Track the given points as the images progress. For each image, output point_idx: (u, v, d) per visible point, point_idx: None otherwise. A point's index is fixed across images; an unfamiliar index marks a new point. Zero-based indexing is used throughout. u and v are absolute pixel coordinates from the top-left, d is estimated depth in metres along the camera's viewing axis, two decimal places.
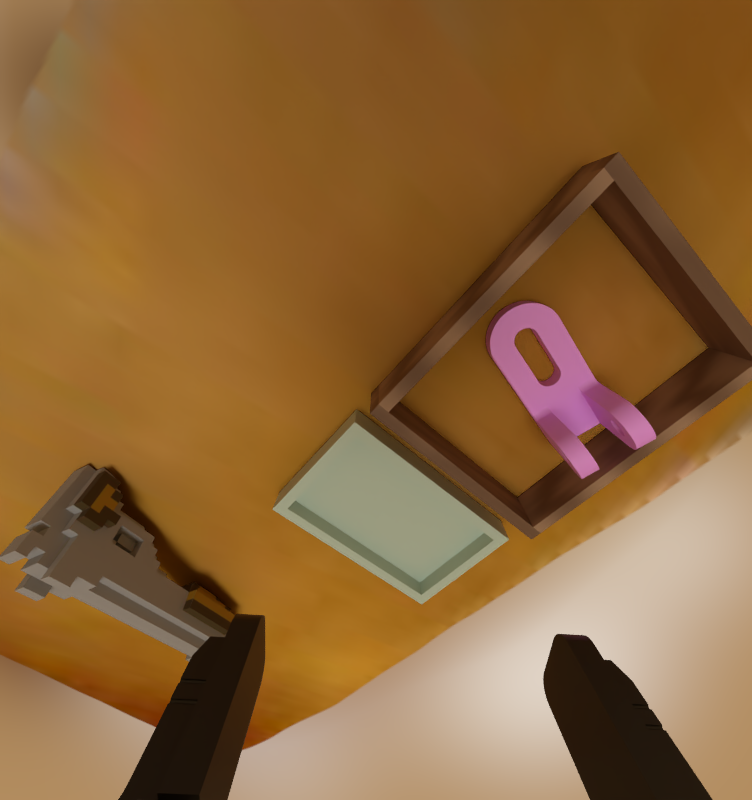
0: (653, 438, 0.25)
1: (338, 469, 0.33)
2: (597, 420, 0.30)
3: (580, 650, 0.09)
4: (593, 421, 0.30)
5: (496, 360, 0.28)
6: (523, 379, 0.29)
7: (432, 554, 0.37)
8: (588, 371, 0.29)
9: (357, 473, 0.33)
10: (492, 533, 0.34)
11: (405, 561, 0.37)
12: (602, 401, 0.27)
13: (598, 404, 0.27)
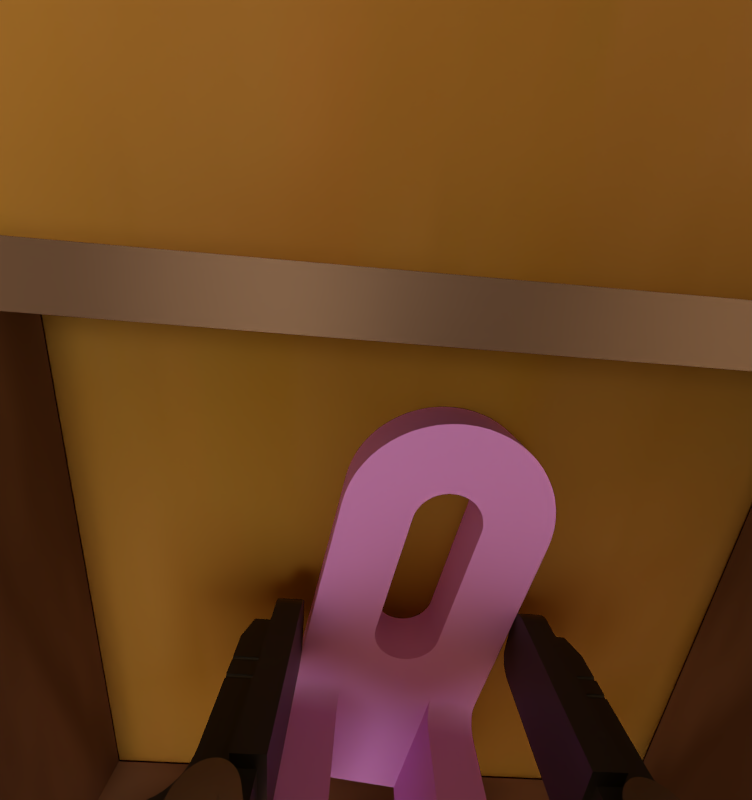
0: None
1: None
2: (394, 780, 0.12)
3: (533, 627, 0.09)
4: (386, 776, 0.12)
5: (346, 503, 0.09)
6: (354, 594, 0.10)
7: None
8: (476, 691, 0.11)
9: None
10: None
11: None
12: None
13: None
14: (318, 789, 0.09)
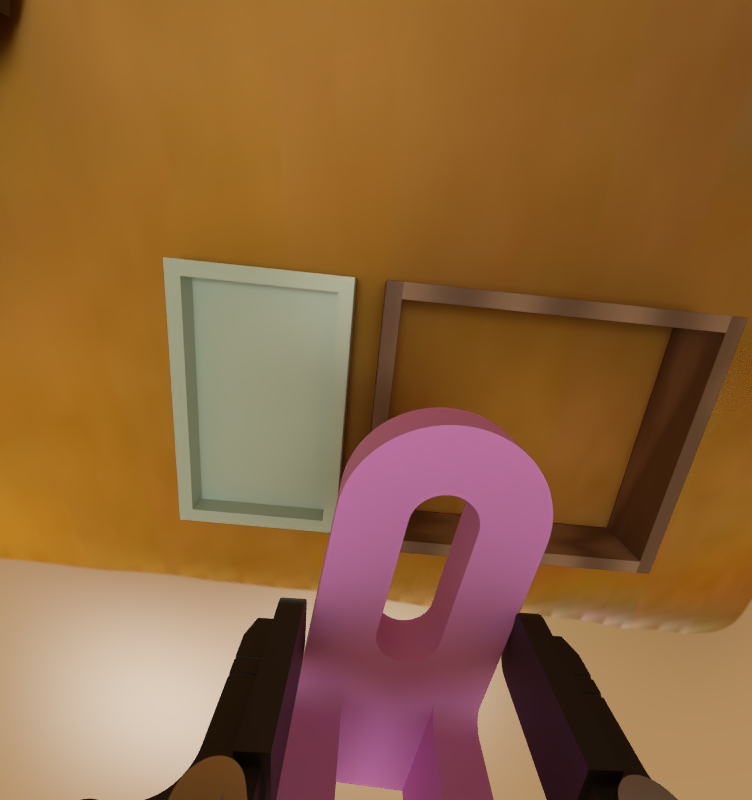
0: None
1: (274, 306, 0.24)
2: (403, 784, 0.12)
3: (531, 626, 0.09)
4: (394, 779, 0.12)
5: (341, 508, 0.09)
6: (354, 599, 0.10)
7: (247, 482, 0.28)
8: (480, 692, 0.11)
9: (285, 331, 0.25)
10: (329, 513, 0.27)
11: (215, 463, 0.28)
12: None
13: None
14: (323, 796, 0.09)
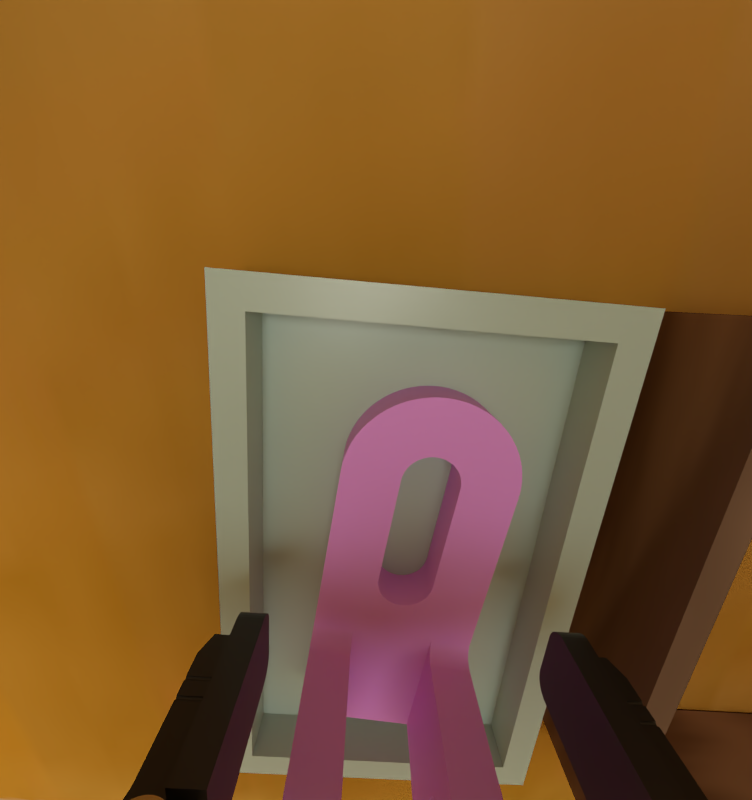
0: None
1: (438, 369, 0.11)
2: (406, 717, 0.14)
3: (575, 647, 0.09)
4: (399, 714, 0.14)
5: (344, 471, 0.11)
6: (357, 550, 0.12)
7: None
8: (470, 630, 0.12)
9: None
10: (518, 756, 0.14)
11: (293, 657, 0.15)
12: (453, 741, 0.10)
13: (440, 737, 0.10)
14: (337, 709, 0.10)
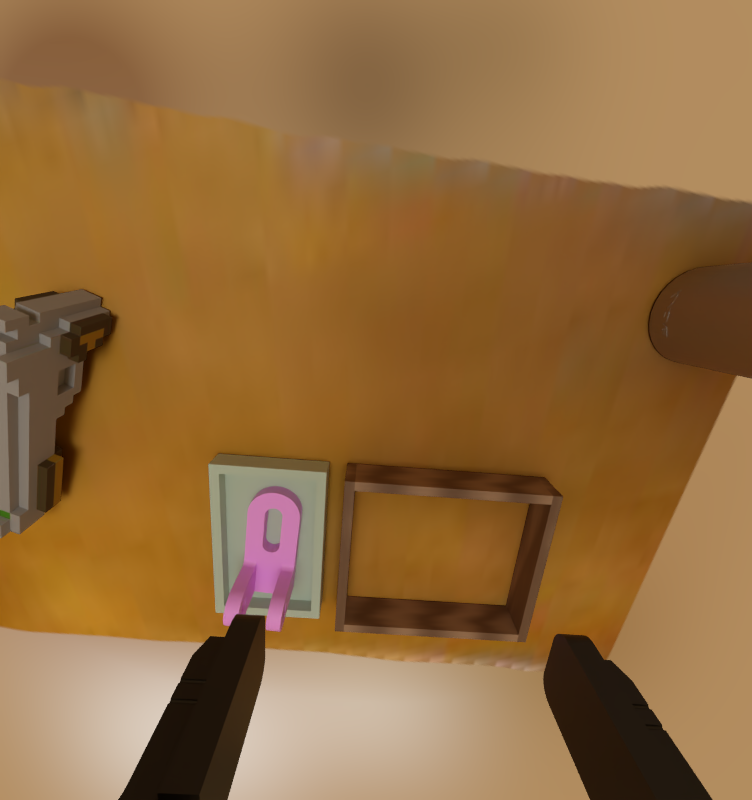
0: (277, 630, 0.36)
1: (276, 482, 0.38)
2: None
3: (580, 650, 0.09)
4: None
5: (248, 513, 0.38)
6: (255, 535, 0.39)
7: None
8: (293, 560, 0.40)
9: None
10: (315, 606, 0.41)
11: None
12: (278, 586, 0.37)
13: (275, 586, 0.38)
14: (247, 579, 0.38)
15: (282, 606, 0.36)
